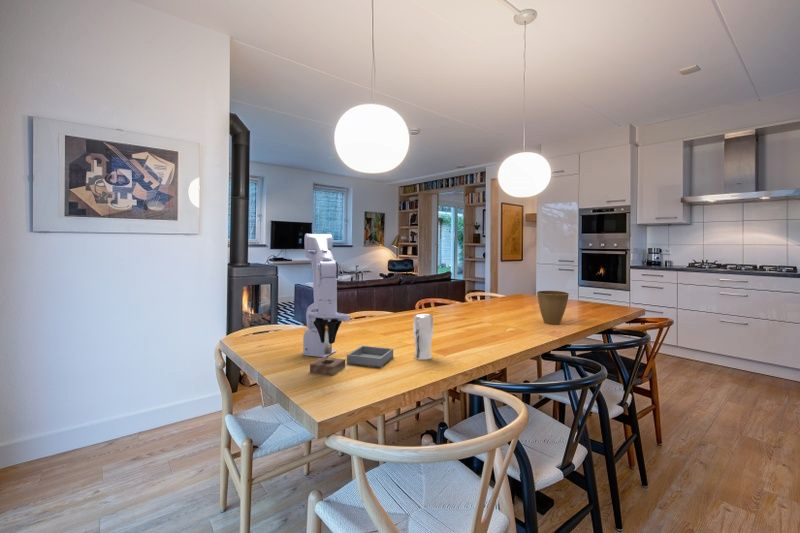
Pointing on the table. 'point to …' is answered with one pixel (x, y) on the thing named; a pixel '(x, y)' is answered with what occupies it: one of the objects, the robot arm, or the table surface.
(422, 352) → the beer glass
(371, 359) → the tray
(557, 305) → the plant pot
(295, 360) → the table surface
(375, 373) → the table surface
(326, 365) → the block
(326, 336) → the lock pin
